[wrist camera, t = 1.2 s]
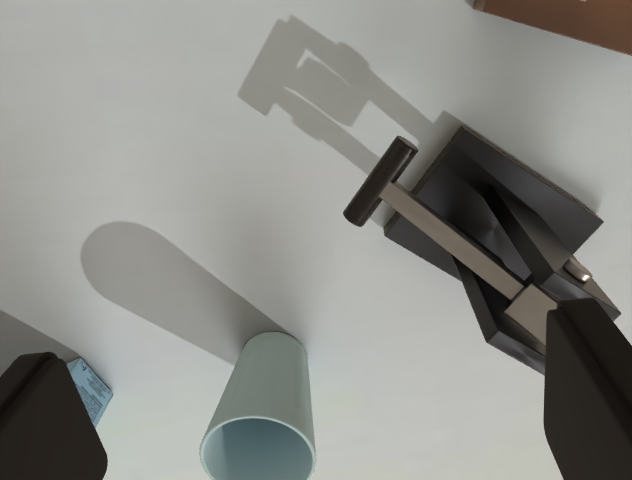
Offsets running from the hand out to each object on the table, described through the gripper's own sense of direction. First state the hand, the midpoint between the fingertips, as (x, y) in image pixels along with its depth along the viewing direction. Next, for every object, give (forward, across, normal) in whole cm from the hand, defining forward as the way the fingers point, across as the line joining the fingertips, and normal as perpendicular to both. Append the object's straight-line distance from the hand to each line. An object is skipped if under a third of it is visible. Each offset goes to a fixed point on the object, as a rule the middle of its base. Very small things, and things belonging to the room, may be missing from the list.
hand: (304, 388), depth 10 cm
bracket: (+28, -10, +10) cm, 31 cm away
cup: (+28, +8, +20) cm, 35 cm away
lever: (+20, -6, +8) cm, 22 cm away
